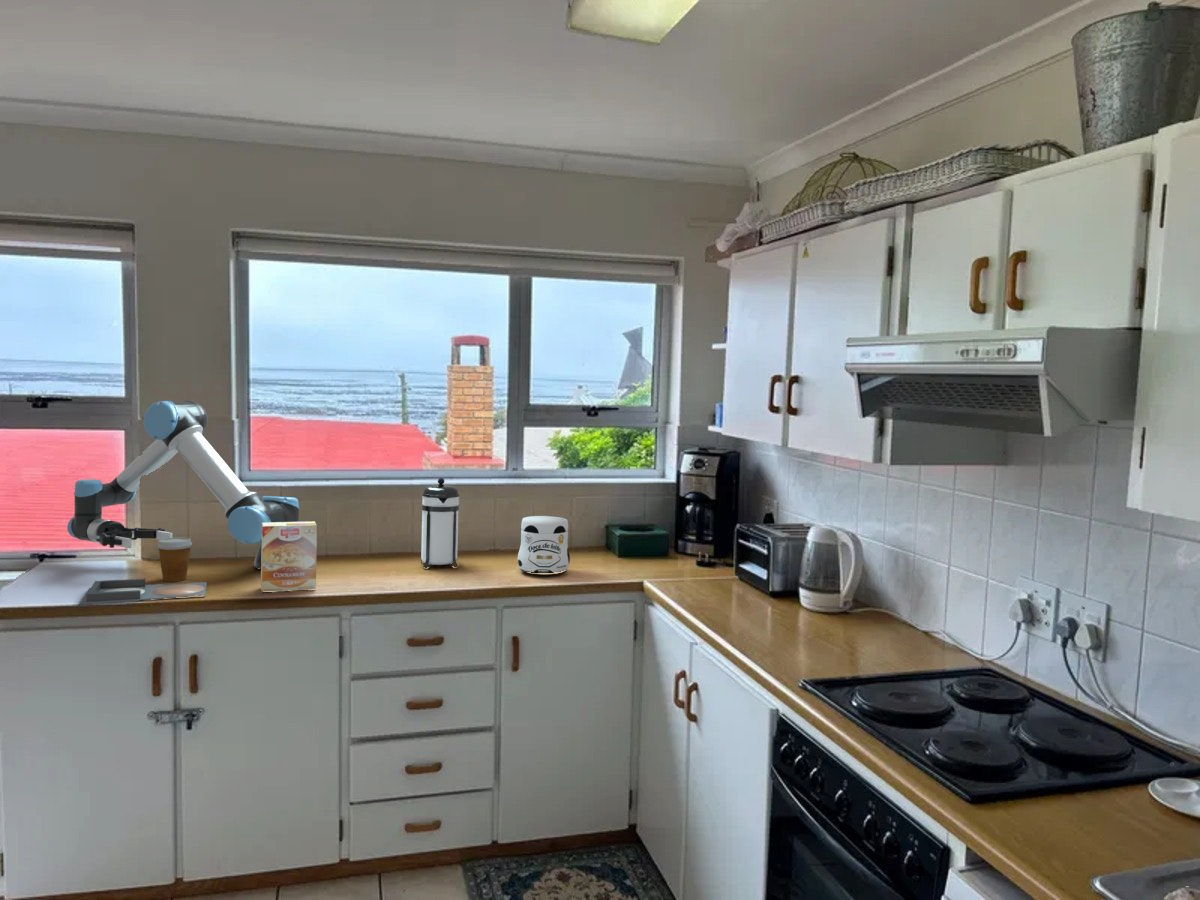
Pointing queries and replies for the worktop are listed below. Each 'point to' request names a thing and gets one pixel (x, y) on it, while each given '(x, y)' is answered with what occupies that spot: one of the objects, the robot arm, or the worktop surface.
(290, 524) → the coffeecake box
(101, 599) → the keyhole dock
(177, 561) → the disposable coffee cup
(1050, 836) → the worktop surface
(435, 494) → the coffee press
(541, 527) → the doce de leite jar
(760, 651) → the worktop surface
